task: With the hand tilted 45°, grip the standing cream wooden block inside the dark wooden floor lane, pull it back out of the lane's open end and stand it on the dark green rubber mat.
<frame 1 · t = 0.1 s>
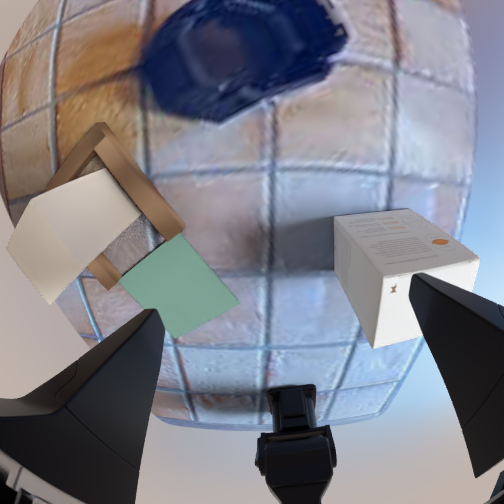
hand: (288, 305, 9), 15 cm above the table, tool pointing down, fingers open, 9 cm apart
cream block: (105, 208, 22), on the table
lane: (105, 209, 22), on the table
green mat: (176, 291, 26), on the table
small box: (372, 238, 24), on the table
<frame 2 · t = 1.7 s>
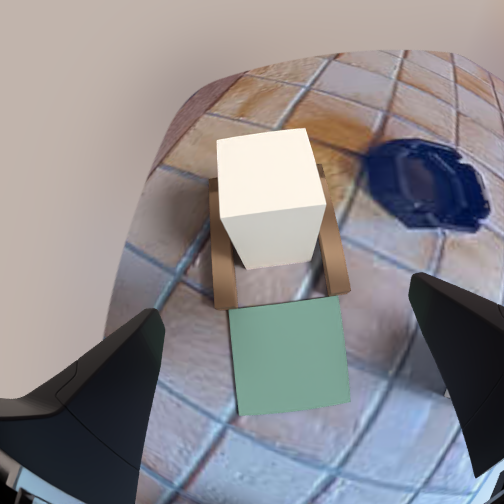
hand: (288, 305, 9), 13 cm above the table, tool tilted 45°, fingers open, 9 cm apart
cream block: (274, 235, 24), on the table
lane: (274, 235, 24), on the table
green mat: (289, 358, 21), on the table
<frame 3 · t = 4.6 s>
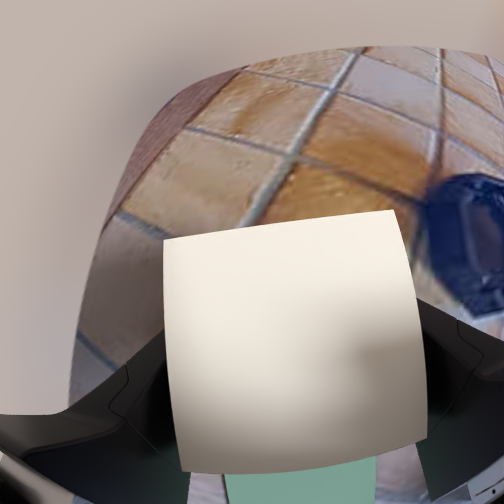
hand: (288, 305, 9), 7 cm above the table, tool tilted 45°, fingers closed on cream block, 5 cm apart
cream block: (289, 345, 14), on the table, touching gripper
green mat: (303, 500, 11), on the table
when the fingers open (8 cm above the table, at t = 7.9 s): cream block drops 1 cm, resting on green mat.
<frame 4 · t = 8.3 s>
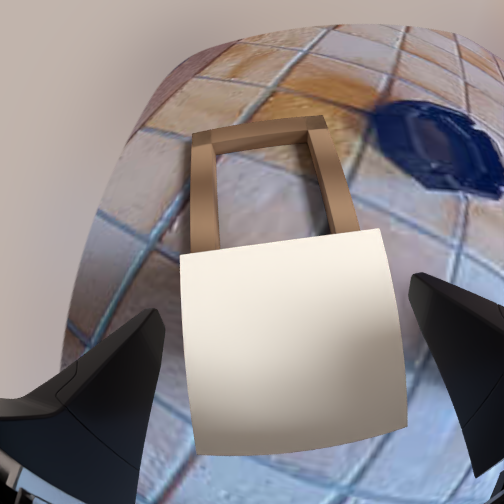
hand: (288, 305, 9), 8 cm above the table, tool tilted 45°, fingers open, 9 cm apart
cream block: (289, 345, 16), resting on green mat
lane: (268, 193, 19), on the table
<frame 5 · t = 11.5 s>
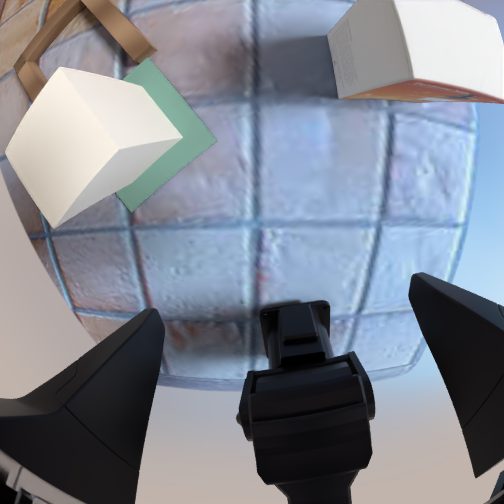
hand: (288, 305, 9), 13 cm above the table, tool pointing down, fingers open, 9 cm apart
cream block: (135, 134, 18), resting on green mat
lane: (76, 55, 15), on the table
green mat: (137, 134, 18), on the table
small box: (378, 68, 16), on the table
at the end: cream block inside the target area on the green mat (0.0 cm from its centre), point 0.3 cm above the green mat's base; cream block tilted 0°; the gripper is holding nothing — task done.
